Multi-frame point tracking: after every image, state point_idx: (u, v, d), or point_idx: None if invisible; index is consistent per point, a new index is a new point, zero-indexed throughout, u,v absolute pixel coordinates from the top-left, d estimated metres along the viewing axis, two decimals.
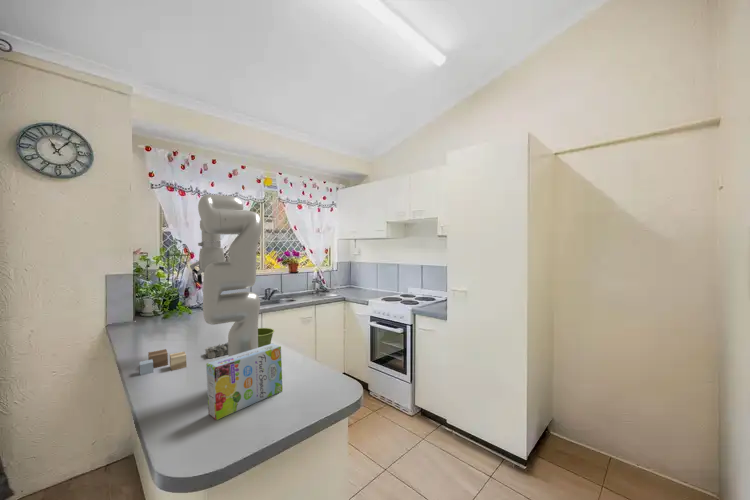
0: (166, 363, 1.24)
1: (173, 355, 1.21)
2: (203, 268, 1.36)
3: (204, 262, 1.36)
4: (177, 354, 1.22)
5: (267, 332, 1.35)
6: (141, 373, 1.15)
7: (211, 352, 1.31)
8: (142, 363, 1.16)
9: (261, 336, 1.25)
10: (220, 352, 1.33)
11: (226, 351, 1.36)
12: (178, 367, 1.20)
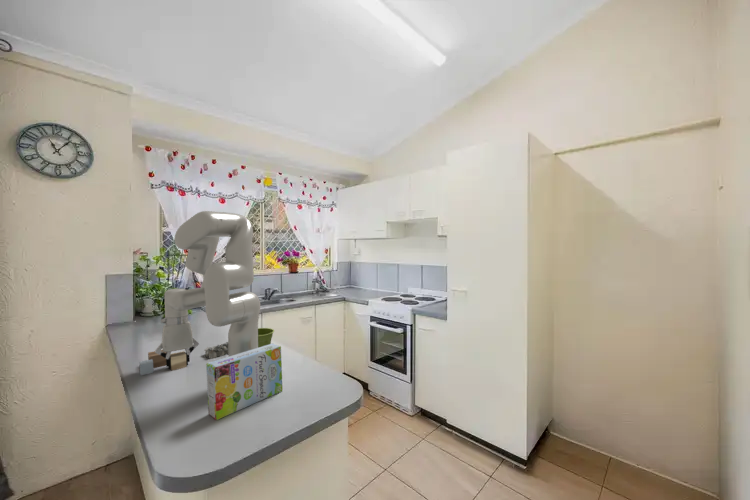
0: None
1: (173, 355, 1.21)
2: (166, 350, 1.18)
3: (167, 342, 1.18)
4: (177, 354, 1.22)
5: (267, 332, 1.35)
6: (141, 373, 1.15)
7: (212, 352, 1.31)
8: (142, 363, 1.16)
9: (261, 336, 1.25)
10: (221, 352, 1.34)
11: (226, 351, 1.36)
12: (178, 367, 1.20)
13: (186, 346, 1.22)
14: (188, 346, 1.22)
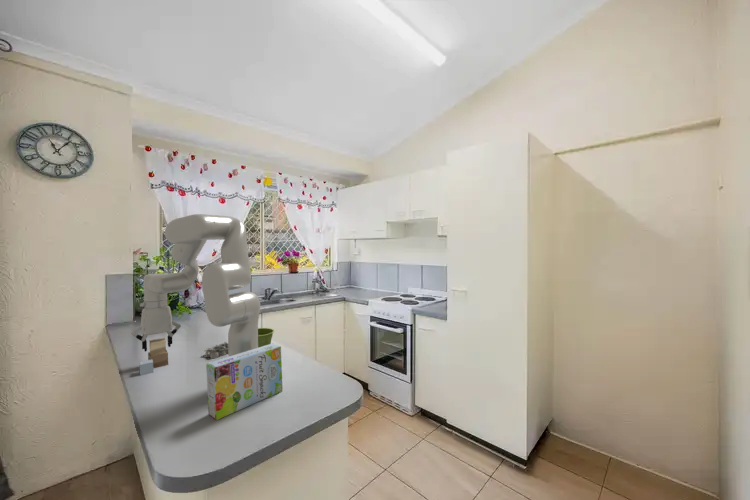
0: (167, 362, 1.24)
1: (153, 341, 1.23)
2: (145, 333, 1.20)
3: (146, 326, 1.20)
4: (157, 340, 1.24)
5: (267, 332, 1.35)
6: (141, 373, 1.15)
7: (214, 352, 1.31)
8: (142, 363, 1.16)
9: (261, 336, 1.25)
10: (222, 352, 1.34)
11: (227, 350, 1.37)
12: (157, 352, 1.23)
13: (165, 330, 1.24)
14: (167, 330, 1.24)
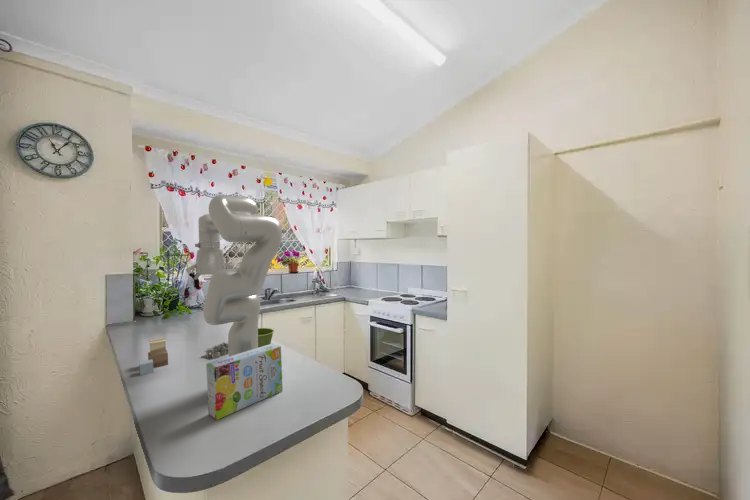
0: (167, 362, 1.24)
1: (153, 341, 1.23)
2: (200, 272, 1.23)
3: (202, 265, 1.23)
4: (157, 340, 1.24)
5: (267, 332, 1.35)
6: (141, 373, 1.15)
7: (216, 352, 1.31)
8: (142, 363, 1.16)
9: (261, 336, 1.25)
10: (223, 351, 1.34)
11: (227, 350, 1.37)
12: (157, 352, 1.23)
13: (219, 271, 1.27)
14: None
